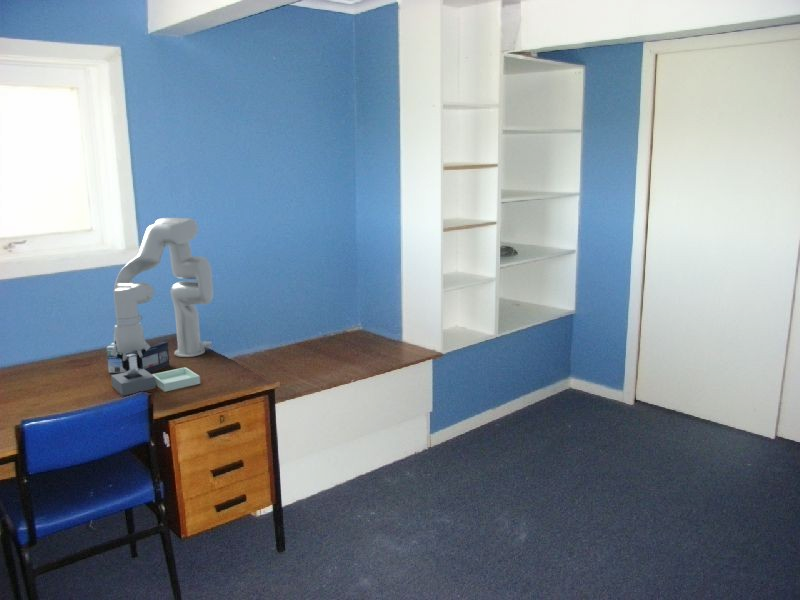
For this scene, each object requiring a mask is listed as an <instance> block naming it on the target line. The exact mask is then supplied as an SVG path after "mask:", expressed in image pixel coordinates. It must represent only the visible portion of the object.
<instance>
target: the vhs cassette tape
mask: <svg viewBox="0 0 800 600" xmlns="http://www.w3.org/2000/svg"><path fill="white" fill-rule="evenodd" d="M149 346H150V348H149V349H148V350H146V352H145V353H144V354H143V356H142V365H141V368H139V370H140V369H145V370H146V371H148V372H149V373H150V374H151V373H152V371H153V372H155V370H156V371H157V369H158V370H161V369H164V368H167V367H169V366H170V357H169V354H170V353H169V344H168V342H166V341H163V342H159V343H156V344H151V345H149ZM129 354H137V353H136V351H133V352H130V353H126V355H129ZM166 366H167V367H166ZM163 367H164V368H163ZM160 368H161V369H160Z"/></svg>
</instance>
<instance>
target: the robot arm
mask: <svg viewBox="0 0 800 600" xmlns="http://www.w3.org/2000/svg"><path fill="white" fill-rule="evenodd" d="M198 231H199V227H198V224H197V222H196V220H194V219H192V218H187V217H185V218H184V217H182V218H181V217H163V218H158V219H156V220H155V222H154V223H153V224H150V225H149V226H147V227H146V230H145V231H144V235H143V238H142V241H141V243H140V246H139V249H138V252H137V254H136V256H135V257H133V258H132V259H131V260H130V261H128V262H127V263H126V264H125V265H124V266H123V267H122V268H121V269H120V271H118V274H117V276H116V278H115V283H114V285H113V290H112V291H113V293H112V295H113V303H114V310H115V320H116V324H115V325H114V327H113V343H114V348H113V350H112V352H111V354H112V355H113V356H116V357H118V358H120V359H121V360H122V367H123V369H125V370H126V371H128V370H129V369H128V361H127V360H126V353H127V352H131V351H136V353H137V359H138V368H141V365H142V356H143V354H144V353H145V352H146V350H148V349H149V348H150V346H151V345H150V344H149V343H148V342H147V341H146V339H145V334H144V329H143V325H142V323H141V322H140V320H143V315H139V313H138V311H139V310H138V305H141V304H146V303H148V302H150V301H151V300H152V299H153V297H154V295H155V294H154V293H155V290H154V287H153V286H152V285H151V284H150V283H146V282H133V281H132V280H133V279H134V278H136V276H138V275H139V274H141V273H143V272H147V271H149V270H152V269H154V268H156V267H157V266H159V264H160V263H161V260H162V256H163V253H164V251H165V248H166V247H168V249H169V255H170V265H171V271H172V272H171V273H172V275H173V277H174V278H176V279H182V281H177V282H175V283H173V284H172V285H171V288H170V297H171V300H172V303H173V310H174V317H175V329H176V331H175V332H176V342H177V349H176V350H174V353H173V354H174V356H176V357H180V358H191V357H197V356H200V355H203V354H205V352H206V350H205V348H206V347H211V346H212V345H213V344H212V341H206V340H204V341H201V330H200V317H199V311H198V308H197V307H196V306H195V305H208V304H210V303H212V301H213V298H214V287H213V286H214V285H213V277H212V276H213V275H212V274H213V273H212V267H211V264H210V262H209V259H207V258H206V257H204V256H193V255H192V250H191V249H192V248H191V247H192V246H191V243H190V241H191V240H194V239H195V238H196V236H197V235H198ZM187 280H196V281H187ZM117 351H118V352H119V353H121V354H119V353H116V352H117Z"/></svg>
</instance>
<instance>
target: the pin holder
mask: <svg viewBox="0 0 800 600" xmlns="http://www.w3.org/2000/svg"><path fill="white" fill-rule="evenodd" d="M152 374H153V373H151V372H150V373H149V372H148V371H146V370H145V369H140V370H139V377H137V378H133V379H128V374H127V372H125V373H116V374H115V373H114V374H111V375H110V377H111V387H112V388H113V387H114V388H115V389H116V391H117V392H118V393H119V394H120V395H121V396H127V395H131V394H136V392H137V393H139V392H138V391H141V392H144V391H149V390H153V389H156V388H157V387H156V385H155V376H153V375H152ZM114 388H113V389H114ZM115 389H114V390H115Z"/></svg>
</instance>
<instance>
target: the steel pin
mask: <svg viewBox="0 0 800 600" xmlns="http://www.w3.org/2000/svg"><path fill="white" fill-rule="evenodd" d="M126 360H127V361H128V369H129V370H128V371H127V374H128V379H133V378H137V377H139V368H138V359H137V354H129V355H126Z"/></svg>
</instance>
